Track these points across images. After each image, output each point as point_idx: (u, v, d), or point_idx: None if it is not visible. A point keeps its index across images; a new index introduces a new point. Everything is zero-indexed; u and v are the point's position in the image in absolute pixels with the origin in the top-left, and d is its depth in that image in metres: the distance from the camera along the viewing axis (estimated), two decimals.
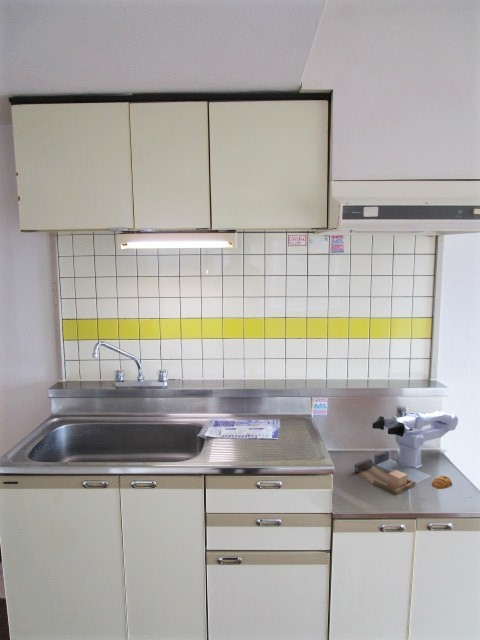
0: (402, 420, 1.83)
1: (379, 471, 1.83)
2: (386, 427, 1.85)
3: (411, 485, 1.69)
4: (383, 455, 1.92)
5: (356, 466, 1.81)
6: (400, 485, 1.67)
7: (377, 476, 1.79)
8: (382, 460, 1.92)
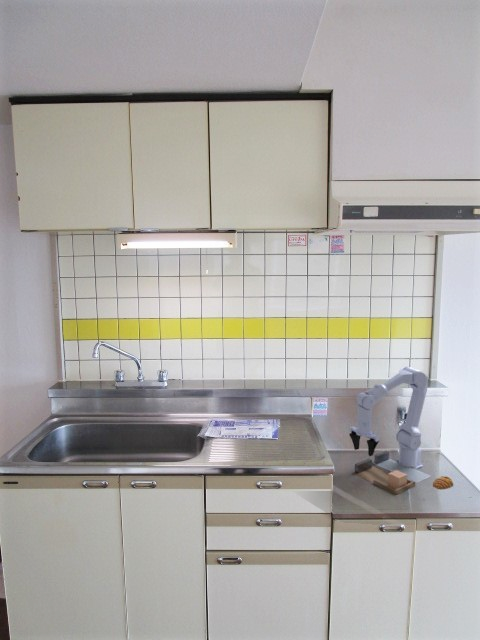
0: (363, 427, 1.80)
1: (379, 471, 1.83)
2: None
3: (411, 485, 1.69)
4: (383, 455, 1.92)
5: (356, 466, 1.81)
6: (400, 485, 1.67)
7: (377, 476, 1.79)
8: (382, 460, 1.92)
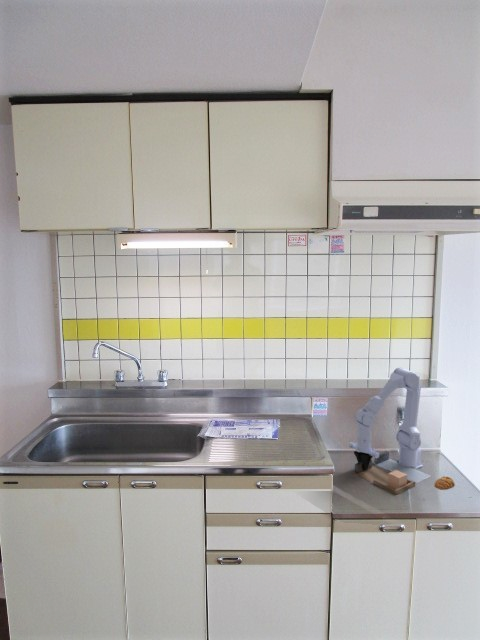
0: (363, 444, 1.80)
1: (379, 471, 1.83)
2: None
3: (411, 485, 1.69)
4: (383, 455, 1.92)
5: (356, 466, 1.81)
6: (400, 485, 1.67)
7: (377, 476, 1.79)
8: (382, 460, 1.92)
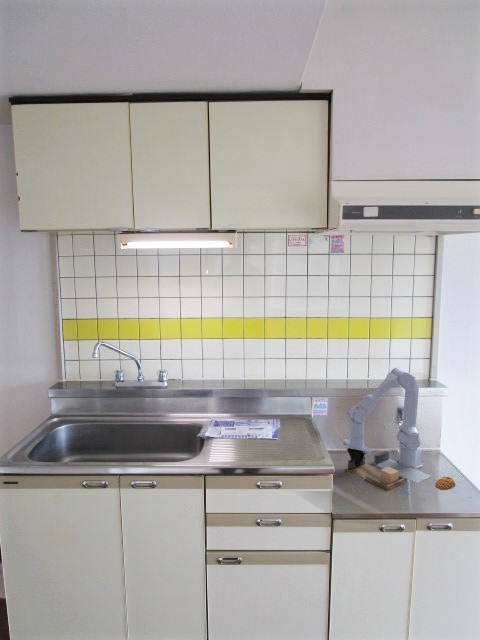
0: (356, 441, 1.84)
1: (372, 468, 1.86)
2: None
3: (402, 481, 1.72)
4: (383, 455, 1.92)
5: (349, 463, 1.85)
6: (392, 481, 1.70)
7: (369, 472, 1.82)
8: (382, 460, 1.92)
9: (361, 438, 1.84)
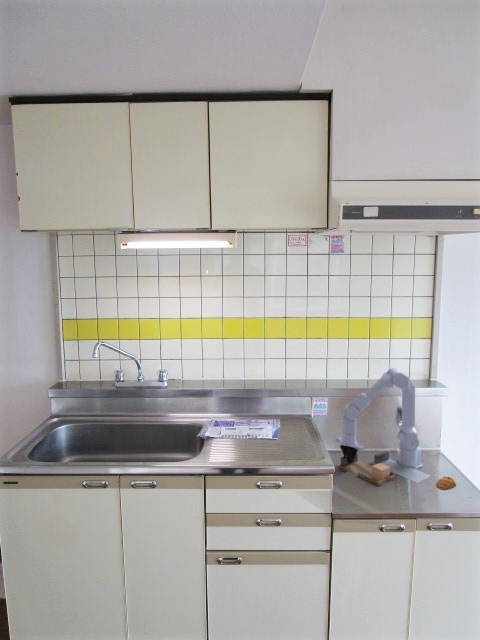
0: (348, 438, 1.87)
1: (364, 464, 1.89)
2: None
3: (394, 477, 1.76)
4: (383, 455, 1.92)
5: (342, 459, 1.88)
6: (383, 477, 1.74)
7: (362, 469, 1.85)
8: (382, 460, 1.92)
9: (354, 435, 1.87)
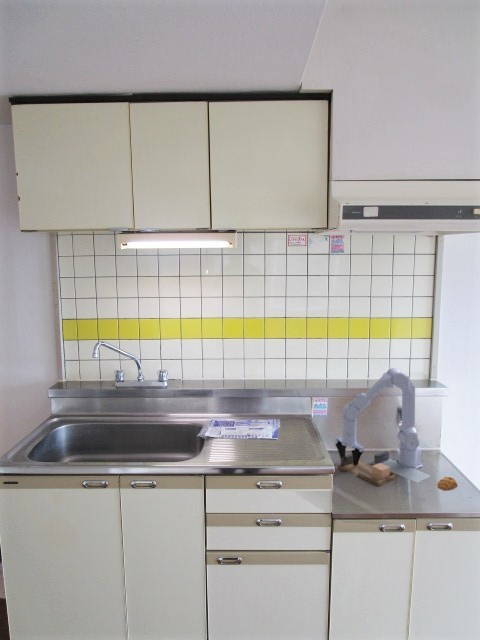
0: (348, 438, 1.87)
1: (364, 464, 1.89)
2: None
3: (394, 477, 1.76)
4: (383, 455, 1.92)
5: (342, 459, 1.88)
6: (383, 477, 1.74)
7: (362, 469, 1.85)
8: (382, 460, 1.92)
9: (353, 435, 1.87)
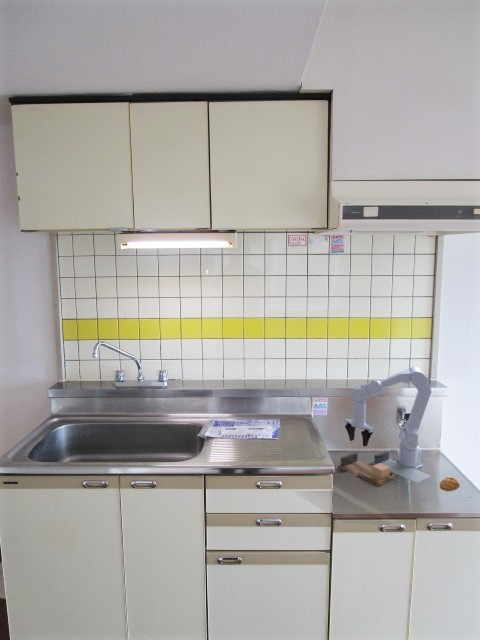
0: (358, 419, 1.90)
1: (364, 464, 1.89)
2: None
3: (394, 477, 1.76)
4: (383, 455, 1.92)
5: (342, 459, 1.88)
6: (383, 477, 1.74)
7: (362, 469, 1.85)
8: (382, 460, 1.92)
9: (363, 416, 1.90)
